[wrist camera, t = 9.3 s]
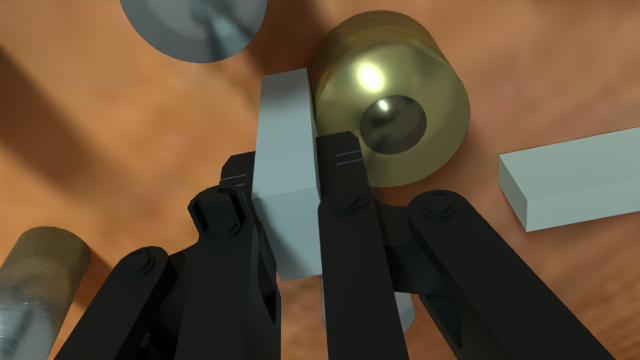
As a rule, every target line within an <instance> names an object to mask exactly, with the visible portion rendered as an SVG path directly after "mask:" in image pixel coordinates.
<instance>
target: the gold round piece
mask: <svg viewBox="0 0 640 360" xmlns="http://www.w3.org/2000/svg"><path fill="white" fill-rule="evenodd" d="M311 83H312V93H313V101H314V112H315V122H316V131H317V135H318V137H320V136H325V135H330V134H335V133H340V132H344V131H351V132H352V133H353V134H354V135H355V136H356V137H358V138H359V142H360V146H361V151H362V155H363V160H364V164H365V169H366V173H367V177H368V182H369V186H373V187H396V186H402V185H406V184H410V183H413V182H416V181H418V180H421V179H423V178H425V177H427V176H429V175H431V174H432V173H434V172H435V171H437V170H438V169H439V168H441V167H442V166H443V165H444V164H445V163H446V162H447V161H448V160H449V159H451V157H452V156H453V155H454V154H455V152H456V151H457V150H458V148H459V147H460V145H461V143H462V141H463V139H464V137H465V135H466V132H467V129H468V125H469V119H470V105H469V99H468V95H467V92H466V89H465V87H464V85H463V83H462V82H461V80H460V79H459V77H458V76H457V74H456V73H455V71H454V70H453V68H452V67H451V65H450V63H449V62H448V60H447V59H446V57H445V56H444V54H443V53H442V51H441V50H440V48H439V47H438V45H437V44H436V42H435V41H434V39H433V38H432V36H431V35H430V33H429V32H428V31H427V30H426V29H425V28H424V27H423V26H422V25H421V24H420V23H419V22H417V21H416V20H414V19H413V18H411V17H409V16H407V15H404V14H401V13H398V12H393V11H385V10H379V11H369V12H364V13H361V14H358V15H355V16H353V17H351V18H348V19H347V20H345V21H343V22H342V23H340V24H339V25H338V26H336V27H335V28H334V29H333V30H332V31H331V32H330V33H329V34H328V35H327V36H326V37H325V39H324V40H323V41H322V43H321V44H320V46H319V48H318V50H317V52H316V54H315V57H314V60H313V64H312V71H311Z"/></svg>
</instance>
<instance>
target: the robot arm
mask: <svg viewBox="0 0 640 360" xmlns="http://www.w3.org/2000/svg"><path fill="white" fill-rule="evenodd" d="M220 179H221V181H220V183H219V185H217V186H213V187H210V188H207V189H206V190H204V191H202V192H200V193H199V194H197V195H196V196H195V197H194V198H193V199H192V200H191V201H190V203H189V205H188V207H187V209H188V211H189V213H190V215H191V217H192V219H193V222H194V224H195V226H196V228H197V230H198V232H199V239H198V242H197V243H195V244H194V245H192V246H190V247H188V248H186V249H184V250H181V251H179V252H177V253H174V254H172V255H170V256H168V254H167V252H166V251H165V250H164V249H162V248H161V247H155V246H149V247H143V248H140V249H138V250H135V251H133V252H131V253H129V254H128V255H127V256H125V257H124V258H122V259H121V260H120V261H119V262H118V264H117V265H116V266H115V267H114V269H113V270H112V272H111V273H110V275H109V276H108V278H107V279H106V281H105V282H104V284H103V285H102V287H101V288H100V290H99V291H98V293H97V294H96V296H95V297H94V299H93V300H92V302H91V304H90V305H89V307H88V308H87V310H86V311H85V313H84V314H83V316H82V317H81V319H80V320H79V322H78V323H77V325H76V326H75V328H74V329H73V331H72V332H71V334H70V335H69V337H68V338H67V340H66V342H65V343H64V345H63V346H62V348H61V349H60V351H59V352H58V354H57V355H56V357H55V358H54V360H281V296H280V292H279V289H278V286H277V283H276V269H277V272H278V274H279V277H280V280H281V281H286V280H292V279H297V278H303V277H308V276H314V275H319V274H322V279H323V292H324V305H325V318H326V332H327V345H328V358H329V360H409V356H408V352H407V347H406V343H405V338H404V334H403V330H402V325H401V321H400V316H399V312H398V307H397V303H396V298H395V294H394V292H401V293H412V294H419V297H420V300H421V302H422V303H423V305H424V306H425V308H426V310H427V311H428V313H429V314H430V316H431V318H432V319H433V321H434V322H435V324H436V326H437V327H438V329H439V330H440V332H441V334H442V335H443V337H444V338H445V340H446V342H447V343H448V345H449V346H450V348H451V350H452V351H453V353H454V354H455V356H456V358H457V359H458V360H616V359H615V358H614V357H613V356H612V355H611V354H610V353H609V352H608V351H607V350H606V349H605V348H604V347H603V345H602V344H601V343H600V342H599V341H598V340H597V339H596V338H595V337H594V336H593V335H592V334H591V333H590V332H589V330H588V329H587V328H586V327H585V326H584V325H583V324H582V323H581V322H580V321H579V320H578V319H577V318H576V317H575V315H574V314H573V313H572V312H571V311H570V310H569V309H568V308H567V307H566V306H565V305H564V304H563V303H562V302H561V301H560V299H559V298H558V297H557V296H556V295H555V294H554V293H553V292H552V291H551V290H550V289H549V288H548V287H547V286H546V284H545V283H544V282H543V281H542V280H541V279H540V278H539V277H538V276H537V275H536V274H535V273H534V272H533V271H532V269H531V268H530V267H529V266H528V265H527V264H526V263H525V262H524V261H523V260H522V259H521V258H520V257H519V256H518V254H517V253H516V252H515V251H514V250H513V249H512V248H511V247H510V246H509V245H508V244H507V243H506V242H505V241H504V240H503V238H502V237H501V236H500V235H499V234H498V233H497V232H496V231H495V230H494V229H493V228H492V227H491V226H490V225H489V223H488V222H487V221H486V220H485V219H484V218H483V217H482V216H481V215H480V214H479V213H478V212H477V211H476V210H475V208H474V207H473V206H472V205H471V204H470V203H469V202H468V201H467V200H466V199H465V198H464V197H462V196H461V195H459V194H458V193H455V192H452V191H448V190H432V191H428V192H424V193H422V194H420V195H418V196H416V197H415V198H414V199H413V200H412V201H411V202H410V203H409V205H408V207H399V206H391V205H387V204H384V203H382V202H380V201H378V200H377V199H376V198H375V197H374V196H373V195H372V193H371V191H370V186H369V182H368V177H367V173H366V169H365V164H364V160H363V155H362V151H361V146H360V142H359V138H358V137H356V136H355V135H354V134H353V133H352V132H351V131H344V132H340V133H335V134H330V135H325V136H320V137H318V135H317V131H316V122H315V112H314V101H313V93H312V89H311V85H310V80H309V76H308V72H307V68H301V69H297V70H292V71H287V72H282V73H278V74H273V75H268V76H264V77H262V87H261V98H260V109H259V120H258V131H257V143H256V151H252V152H247V153H242V154H237V155H233V156H231V157H230V158H229V159H228V160H227V162H226V163H225V164H224V166H223V167H222V172H221V178H220ZM145 335H146V336H145ZM144 337H145V338H144ZM143 339H144V340H143ZM142 341H143V342H142Z"/></svg>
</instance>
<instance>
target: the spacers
mask: <svg viewBox="0 0 640 360" xmlns="http://www.w3.org/2000/svg"><path fill="white" fill-rule="evenodd" d="M120 2H121V5H122V7H123V10H124V12H125V14H126V16H127V18H128V20H129V21H130V23H131V24H132V26H133V27H134V29H135V30H136V31H137V32H138V33H139V35H140V36H141V37H142V38H143V39H145V40H146V41H147V42H148V43H149V44H150V45H152V46H153V47H154V48H156V49H157V50H159V51H161V52H162V53H164V54H166V55H168V56H170V57H173V58H176V59H179V60H182V61H187V62H193V63H210V62H216V61H220V60H223V59H226V58H229V57H231V56H233V55H235V54H236V53H238V52H240V51H241V50H242V49H243V48H245V47H246V46H247V45H248V44H249V43H250V42H251V41H252V40H253V38H254V37H255V35H256V34H257V32H258V31H259V29H260V27H261V25H262V22H263V19H264V16H265V12H266V6H267V0H120ZM370 191H371V193H372V195H373V196H374V197H375V198H376V199H377V200H378V201H380V202H382V203H384V204H387V203H386V199H385V195H384V192H383V190H382V189H381V187H373V186H370ZM89 263H90V252H89V250H88V248H87V246H86V245H85V244H84V242H83V241H82V240H81V239H79V238H78V237H77V236H75V235H74V234H72V233H70V232H68V231H65V230H62V229H59V228H55V227H36V228H32V229H29V230H27V231H26V232H24V233H23V234H22V235H21V236H20V237H19V239H18V240H17V242H16V243H15V245H14V247H13V248H12V250H11V251H10V253H9V255H8V256H7V258H6V259H5V261H4V262H3V264H2V266H1V267H0V360H47V359H48V357H49V354H50V352H51V350H52V348H53V345H54V343H55V341H56V338H57V336H58V334H59V332H60V329H61V327H62V325H63V322H64V320H65V318H66V316H67V313H68V311H69V309H70V306H71V304H72V302H73V300H74V297H75V295H76V293H77V290H78V288H79V286H80V284H81V281H82V279H83V277H84V274H85V272H86V270H87V268H88V265H89ZM319 275H320V289H321V302H322V316H323V325H324V328H325V330H326V318H325V305H324V292H323V279H322V274H319ZM394 294H395V298H396V303H397V307H398V312H399V316H400V321H401V325H402V330H403V333H404V332H405V331H406V330H407V329H408V328H409V327H410V326H411V324H412V322H413V319H414V315H415V310H414V306H413V302H412V298H411V295H410V293H401V292H394Z"/></svg>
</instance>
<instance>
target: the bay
mask: <svg viewBox="0 0 640 360" xmlns="http://www.w3.org/2000/svg"><path fill="white" fill-rule="evenodd" d="M499 186H500V188H501V189H502V191H503V193H504V194H505V196H506V198H507V200H508V201H509V203H510V205H511V207H512V208H513V210H514V212H515V213H516V215H517V217H518V219H519V220H520V222H521V224H522V226H523V227H524V229H525V231H526V232H529V231H534V230H540V229H545V228H550V227H556V226H561V225H566V224H572V223H577V222H582V221H588V220H593V219H598V218H604V217H609V216H614V215H620V214H625V213H630V212H636V211H640V127H637V128H632V129H627V130H622V131H617V132H612V133H607V134H602V135H597V136H592V137H587V138H582V139H577V140H572V141H567V142H562V143H557V144H552V145H547V146H542V147H537V148H532V149H527V150H521V151H516V152H511V153H506V154H501V155H499Z"/></svg>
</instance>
